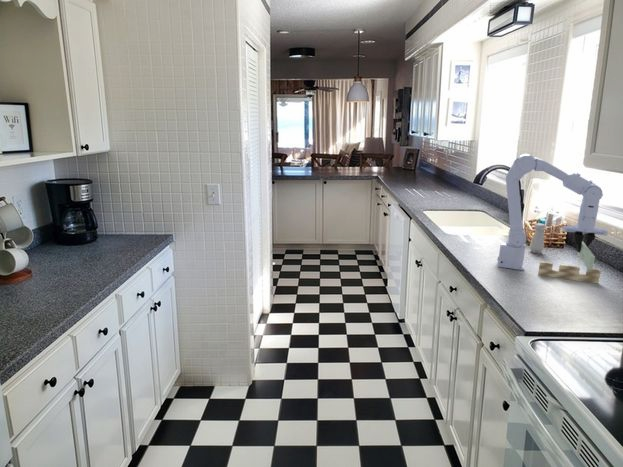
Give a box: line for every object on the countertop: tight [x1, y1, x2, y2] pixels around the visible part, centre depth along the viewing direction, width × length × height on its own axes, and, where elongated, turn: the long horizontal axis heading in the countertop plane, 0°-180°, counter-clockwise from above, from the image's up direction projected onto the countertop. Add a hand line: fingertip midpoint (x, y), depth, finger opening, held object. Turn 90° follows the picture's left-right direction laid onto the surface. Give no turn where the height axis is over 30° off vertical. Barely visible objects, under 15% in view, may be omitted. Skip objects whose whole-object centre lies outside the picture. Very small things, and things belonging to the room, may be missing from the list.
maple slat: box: [537, 261, 602, 284], centre depth 176 cm, size 20×1×5 cm, turn 68°
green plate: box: [576, 240, 596, 270], centre depth 173 cm, size 16×1×5 cm, turn 165°
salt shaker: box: [528, 222, 546, 255], centre depth 209 cm, size 6×6×13 cm
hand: (580, 251), depth 179 cm, fingers closed on green plate
